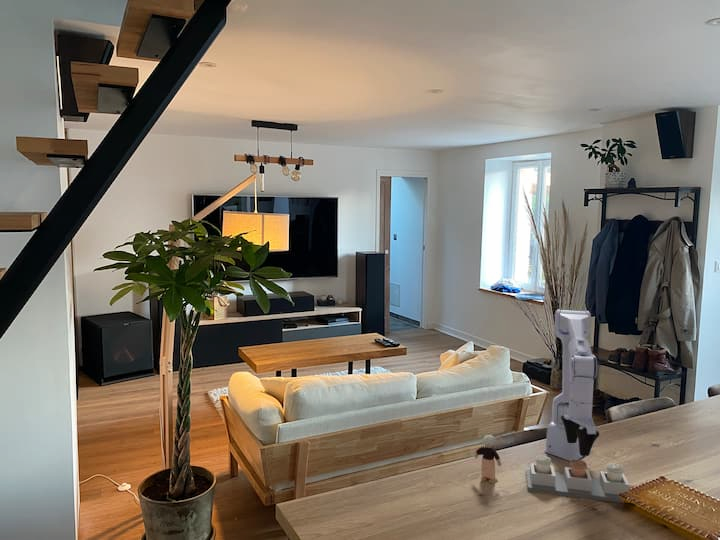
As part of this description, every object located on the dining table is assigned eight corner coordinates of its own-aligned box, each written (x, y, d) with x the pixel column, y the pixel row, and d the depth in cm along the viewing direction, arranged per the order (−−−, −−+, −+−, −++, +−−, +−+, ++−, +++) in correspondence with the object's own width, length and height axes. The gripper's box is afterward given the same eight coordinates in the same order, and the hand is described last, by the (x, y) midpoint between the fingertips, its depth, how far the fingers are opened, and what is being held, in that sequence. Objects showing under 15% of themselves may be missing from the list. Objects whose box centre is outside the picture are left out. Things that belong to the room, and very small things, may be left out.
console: (527, 490, 143) (528, 476, 143) (525, 472, 153) (526, 459, 153) (634, 504, 137) (635, 489, 137) (625, 484, 147) (626, 470, 147)
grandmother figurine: (502, 479, 150) (504, 435, 148) (499, 485, 146) (501, 440, 145) (474, 473, 153) (476, 430, 151) (471, 479, 149) (473, 435, 148)
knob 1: (535, 473, 145) (536, 461, 145) (534, 466, 149) (535, 454, 149) (551, 475, 145) (551, 463, 144) (549, 468, 148) (550, 456, 148)
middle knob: (571, 478, 143) (571, 465, 143) (568, 470, 147) (569, 458, 147) (587, 480, 142) (587, 467, 142) (584, 472, 146) (585, 460, 146)
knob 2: (607, 482, 141) (608, 469, 141) (604, 475, 145) (605, 462, 145) (624, 484, 140) (625, 471, 140) (620, 477, 144) (621, 464, 144)
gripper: (555, 390, 151) (552, 437, 152) (578, 410, 136) (575, 461, 138) (579, 390, 151) (577, 437, 153) (605, 410, 137) (602, 461, 138)
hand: (577, 448), depth 145 cm, fingers open, 7 cm apart
